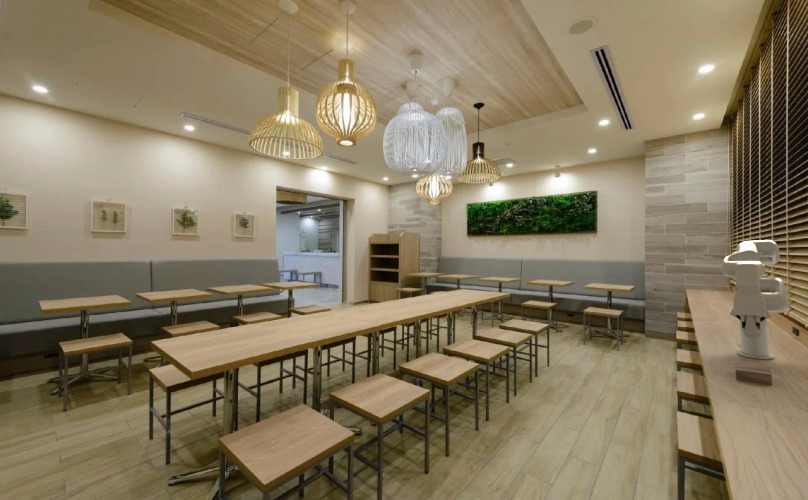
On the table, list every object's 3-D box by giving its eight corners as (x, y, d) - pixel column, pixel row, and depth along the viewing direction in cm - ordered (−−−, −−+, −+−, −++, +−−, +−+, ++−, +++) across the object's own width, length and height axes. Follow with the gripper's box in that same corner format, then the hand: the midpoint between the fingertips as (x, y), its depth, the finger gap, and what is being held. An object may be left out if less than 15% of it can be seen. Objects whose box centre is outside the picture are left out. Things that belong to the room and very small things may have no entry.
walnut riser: (736, 372, 145) (735, 363, 145) (770, 377, 138) (769, 367, 138) (736, 379, 138) (735, 369, 138) (772, 385, 131) (771, 374, 131)
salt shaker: (765, 339, 146) (763, 309, 146) (750, 339, 147) (747, 310, 147) (754, 335, 152) (751, 307, 152) (739, 335, 153) (737, 307, 153)
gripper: (722, 290, 153) (725, 330, 153) (775, 291, 141) (778, 334, 141) (723, 288, 158) (726, 326, 158) (775, 289, 146) (778, 331, 146)
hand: (751, 330), depth 150 cm, fingers closed on salt shaker, 3 cm apart
